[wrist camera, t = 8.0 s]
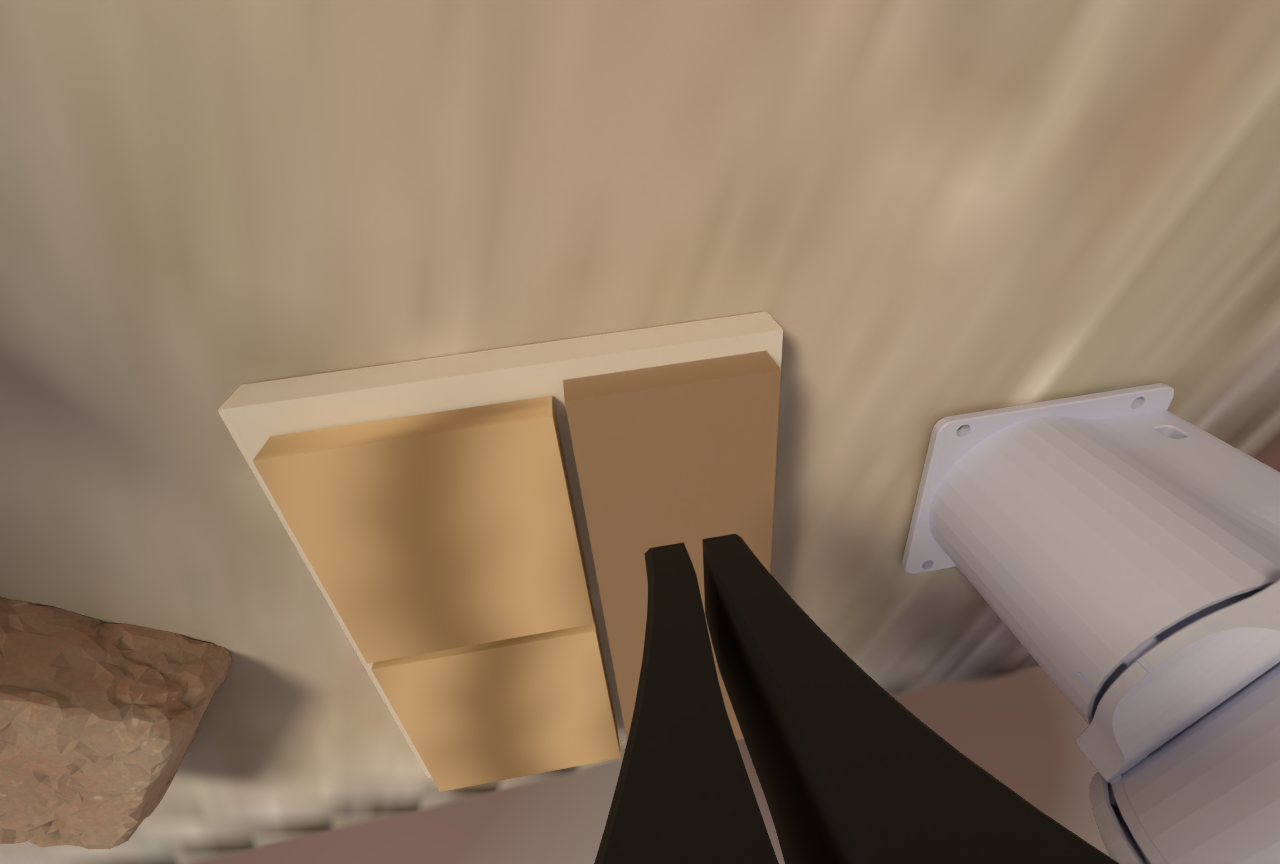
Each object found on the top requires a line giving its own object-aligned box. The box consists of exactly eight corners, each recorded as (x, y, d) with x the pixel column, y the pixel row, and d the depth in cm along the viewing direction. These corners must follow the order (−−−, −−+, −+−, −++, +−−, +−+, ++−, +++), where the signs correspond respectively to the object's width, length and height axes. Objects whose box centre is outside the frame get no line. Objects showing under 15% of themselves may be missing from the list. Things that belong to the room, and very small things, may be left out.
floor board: (766, 311, 18) (799, 347, 16) (753, 685, 29) (771, 739, 27) (241, 384, 17) (193, 435, 15) (433, 746, 28) (423, 808, 26)
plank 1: (552, 395, 17) (552, 416, 16) (591, 598, 22) (594, 623, 21) (270, 436, 16) (252, 460, 15) (375, 635, 21) (367, 663, 20)
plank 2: (593, 605, 22) (595, 631, 21) (618, 731, 27) (620, 757, 26) (379, 641, 21) (370, 669, 20) (444, 763, 26) (440, 791, 25)
